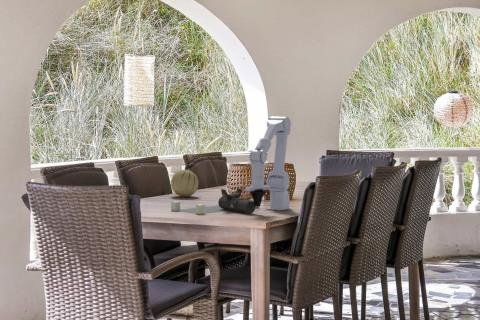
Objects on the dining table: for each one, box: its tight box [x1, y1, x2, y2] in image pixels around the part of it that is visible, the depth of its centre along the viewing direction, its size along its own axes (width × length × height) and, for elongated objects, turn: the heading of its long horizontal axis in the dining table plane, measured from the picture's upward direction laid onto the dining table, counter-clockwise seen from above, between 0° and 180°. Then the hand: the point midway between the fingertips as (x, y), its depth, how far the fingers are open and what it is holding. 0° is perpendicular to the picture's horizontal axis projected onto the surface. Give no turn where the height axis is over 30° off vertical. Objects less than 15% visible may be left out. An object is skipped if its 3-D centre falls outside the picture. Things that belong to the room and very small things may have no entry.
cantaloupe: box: [170, 168, 199, 198], centre depth 441 cm, size 15×15×15 cm
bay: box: [170, 198, 258, 215], centre depth 389 cm, size 40×19×4 cm, turn 138°
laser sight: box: [217, 187, 256, 214], centre depth 380 cm, size 10×22×10 cm, turn 36°
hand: (257, 206), depth 371 cm, fingers closed
